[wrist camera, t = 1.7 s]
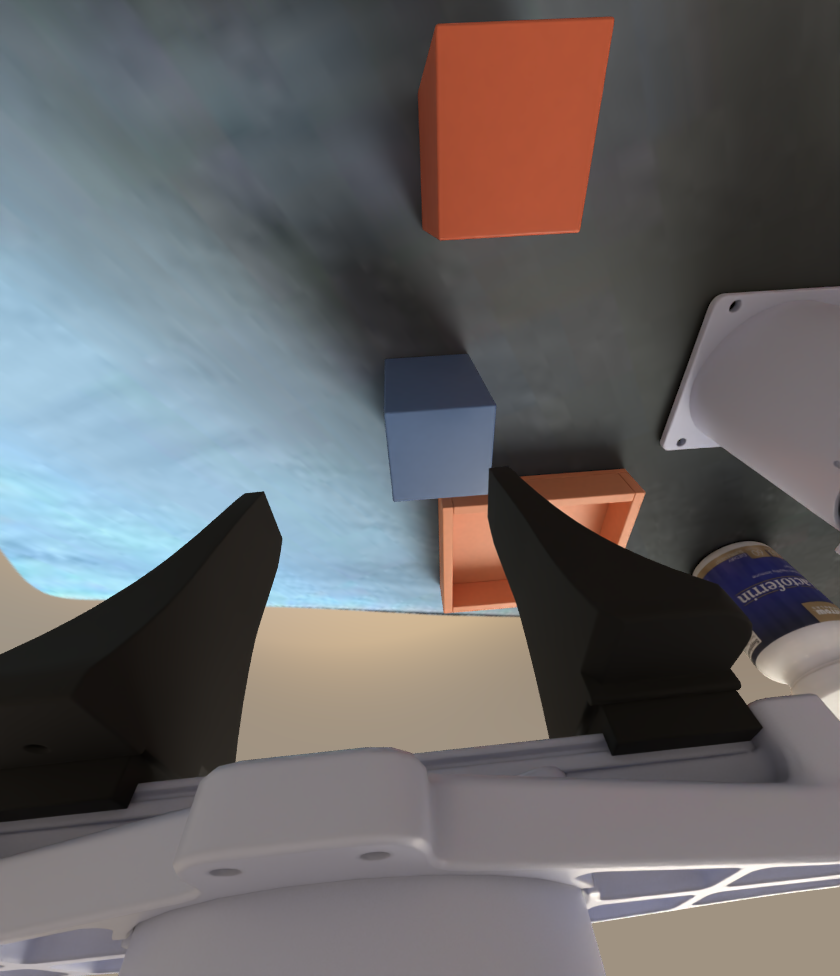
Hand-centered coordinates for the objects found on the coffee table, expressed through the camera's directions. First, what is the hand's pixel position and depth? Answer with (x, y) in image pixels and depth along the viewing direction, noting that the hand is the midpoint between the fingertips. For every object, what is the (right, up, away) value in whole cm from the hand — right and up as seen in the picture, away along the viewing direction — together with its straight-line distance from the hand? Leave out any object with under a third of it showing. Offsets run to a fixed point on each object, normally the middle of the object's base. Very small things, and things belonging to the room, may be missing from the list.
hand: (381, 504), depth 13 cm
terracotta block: (+3, +13, +2) cm, 13 cm away
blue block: (+2, +5, +7) cm, 9 cm away
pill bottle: (+24, -5, +17) cm, 30 cm away
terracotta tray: (+8, -2, +13) cm, 16 cm away
